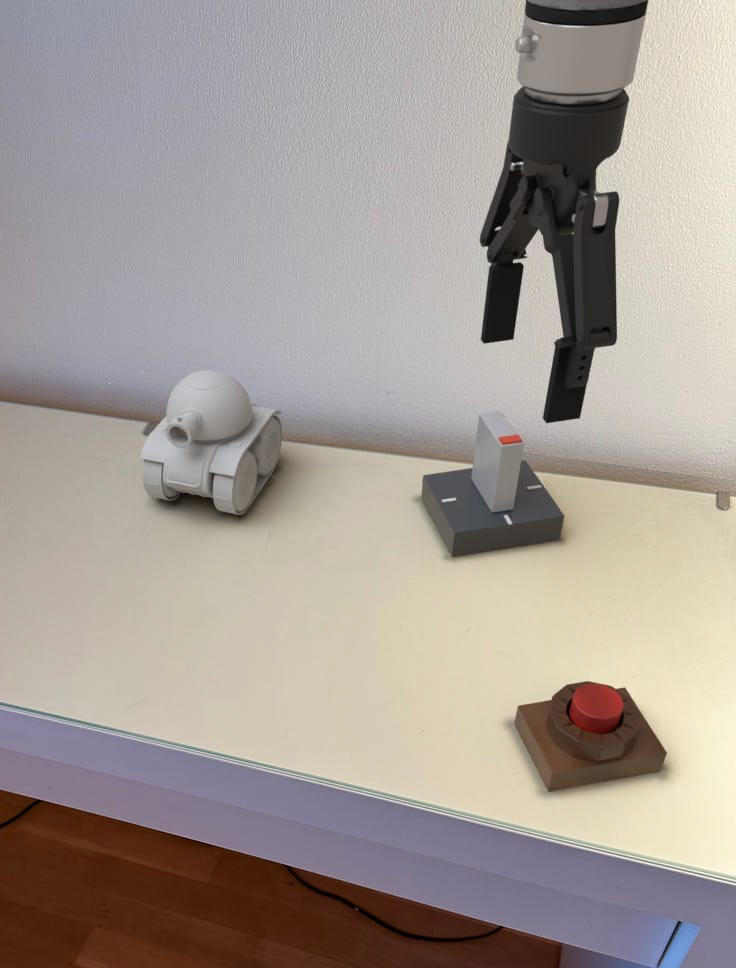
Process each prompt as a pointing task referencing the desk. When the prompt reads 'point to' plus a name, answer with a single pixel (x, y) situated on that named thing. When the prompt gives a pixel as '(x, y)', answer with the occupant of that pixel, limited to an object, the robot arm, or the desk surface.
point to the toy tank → (212, 443)
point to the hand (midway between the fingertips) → (527, 377)
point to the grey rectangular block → (497, 461)
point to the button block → (586, 742)
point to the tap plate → (490, 513)
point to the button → (596, 708)
